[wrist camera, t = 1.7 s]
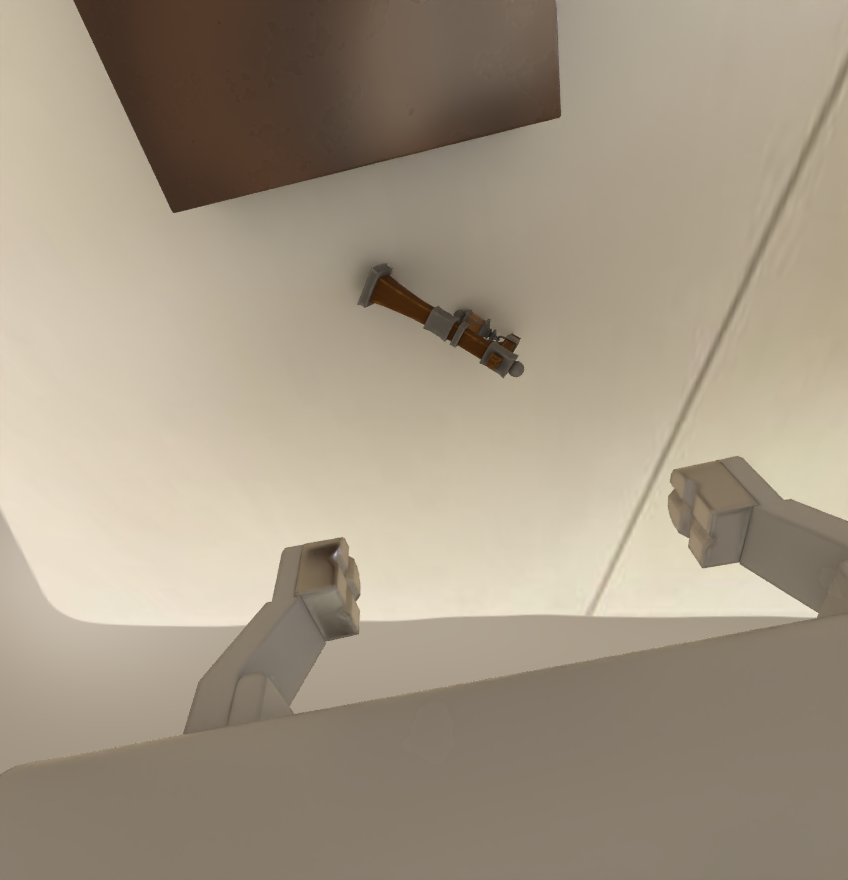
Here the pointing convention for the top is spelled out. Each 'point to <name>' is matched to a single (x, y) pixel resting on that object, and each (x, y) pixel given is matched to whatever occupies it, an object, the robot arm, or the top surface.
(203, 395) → the top surface
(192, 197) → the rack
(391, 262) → the top surface
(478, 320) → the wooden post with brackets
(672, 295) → the top surface
